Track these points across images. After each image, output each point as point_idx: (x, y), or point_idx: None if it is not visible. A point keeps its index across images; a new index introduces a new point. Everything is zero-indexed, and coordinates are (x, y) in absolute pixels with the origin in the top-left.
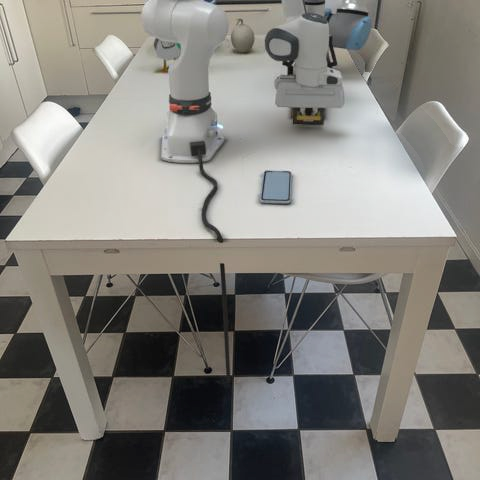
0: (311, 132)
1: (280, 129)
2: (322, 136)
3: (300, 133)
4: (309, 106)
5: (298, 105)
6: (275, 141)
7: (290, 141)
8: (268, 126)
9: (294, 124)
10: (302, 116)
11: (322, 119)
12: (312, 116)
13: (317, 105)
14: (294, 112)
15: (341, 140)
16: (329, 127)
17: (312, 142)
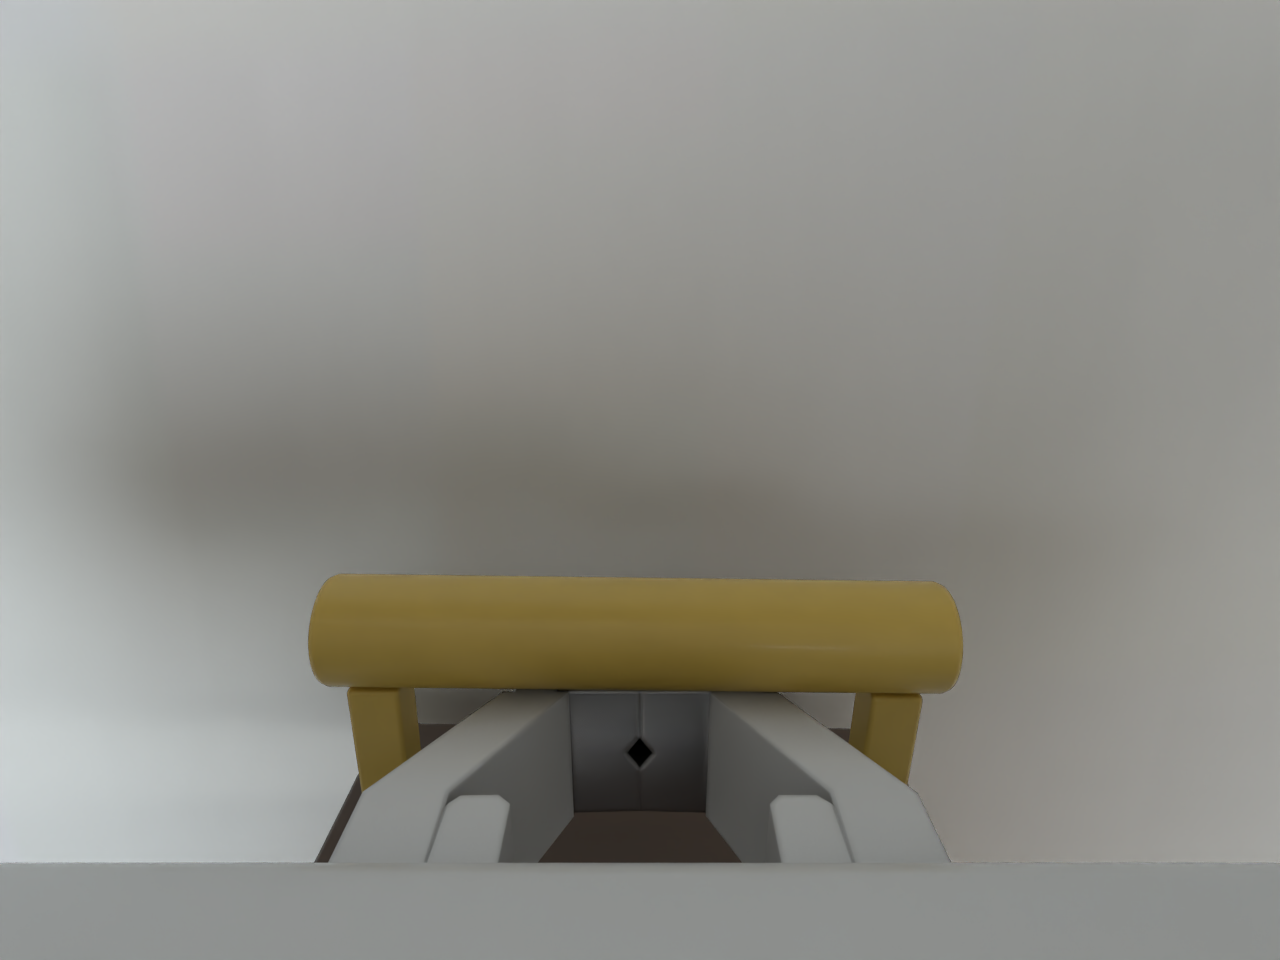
0: (575, 548)
1: (1055, 635)
2: (387, 402)
3: (754, 505)
4: (630, 894)
5: (1148, 929)
6: (1251, 141)
7: (965, 154)
8: (1216, 725)
9: (850, 729)
10: (812, 632)
11: None
12: (533, 639)
13: (248, 936)
14: None
15: (32, 244)
16: (310, 724)
17: (553, 123)
